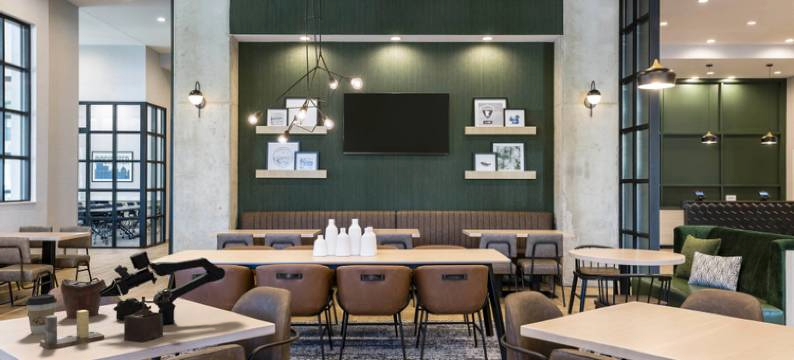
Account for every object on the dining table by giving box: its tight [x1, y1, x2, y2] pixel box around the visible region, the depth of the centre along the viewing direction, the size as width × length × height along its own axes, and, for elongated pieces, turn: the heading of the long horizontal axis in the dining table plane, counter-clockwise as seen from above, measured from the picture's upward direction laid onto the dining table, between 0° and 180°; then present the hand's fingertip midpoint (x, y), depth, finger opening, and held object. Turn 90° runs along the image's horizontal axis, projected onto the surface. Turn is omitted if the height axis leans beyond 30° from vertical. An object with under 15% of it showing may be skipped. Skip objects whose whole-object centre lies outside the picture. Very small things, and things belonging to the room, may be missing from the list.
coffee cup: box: [24, 293, 58, 335], centre depth 234 cm, size 11×11×15 cm
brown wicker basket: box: [60, 277, 108, 319], centre depth 267 cm, size 18×20×18 cm
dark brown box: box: [123, 289, 172, 343], centre depth 225 cm, size 16×11×18 cm
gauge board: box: [39, 314, 105, 350], centre depth 218 cm, size 20×10×12 cm, turn 137°
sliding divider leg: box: [76, 310, 90, 338], centre depth 220 cm, size 3×8×10 cm, turn 47°
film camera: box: [112, 297, 152, 322], centre depth 257 cm, size 18×12×10 cm
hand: (99, 294), depth 233 cm, fingers open, 9 cm apart
